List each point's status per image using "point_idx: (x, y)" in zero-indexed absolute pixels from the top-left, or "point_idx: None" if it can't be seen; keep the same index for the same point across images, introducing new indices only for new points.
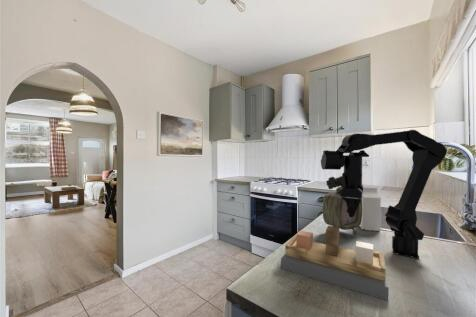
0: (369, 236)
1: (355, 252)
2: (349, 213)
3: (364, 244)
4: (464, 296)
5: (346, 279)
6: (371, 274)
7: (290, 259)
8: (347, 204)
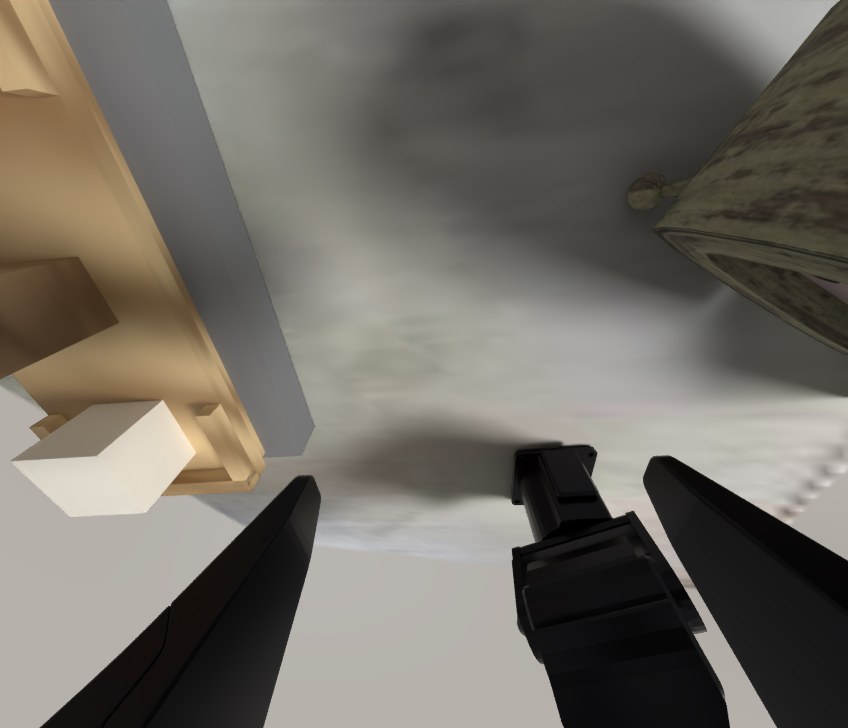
0: (734, 359)
1: (190, 393)
2: (266, 517)
3: (93, 487)
4: (331, 541)
5: None
6: None
7: None
8: (89, 700)
